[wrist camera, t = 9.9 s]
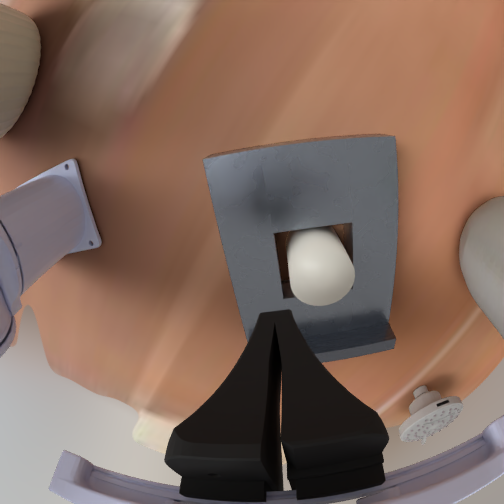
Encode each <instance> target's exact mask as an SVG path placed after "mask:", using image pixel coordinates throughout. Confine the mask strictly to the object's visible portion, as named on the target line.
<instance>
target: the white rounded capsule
mask: <svg viewBox="0 0 504 504" xmlns="http://www.w3.org/2000/svg"><path fill="white" fill-rule="evenodd" d="M286 251H287V260H288V269H289V277H290V286H291V289H292V292H293V293H294V295H295V296H296V297H297V298H298V299H299V300H300V301H302V302H304V303H306V304H309V305H313V306H325V305H329V304H332V303H335V302H337V301H339V300H340V299H342V298H343V297H344V296H345V295H346V294H347V293H348V292H349V291H350V289H351V288H352V286H353V283H354V279H355V270H354V266H353V264H352V262H351V260H350V258H349V256H348V254H347V252H346V250H345V248H344V246H343V245H342V243H341V241H340V239H339V237H338V235H337V233H336V231H335V230H334V228H333V227H332V226H331V225H328V226H321V227H314V228H306V229H299V230H292V231H289V233H288V235H287V238H286Z"/></svg>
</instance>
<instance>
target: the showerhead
mask: <svg viewBox="0 0 504 504" xmlns="http://www.w3.org/2000/svg"><path fill="white" fill-rule="evenodd" d="M413 394H414V397H415V400H414V401H413V402H412V403H411V404H410V406H409V411H410V414H411V416H410V417H409V418H408V419H407V420H405V421H404V422H403V424H402V425H401V426H400V428H399V434H400V438H401V440H402V441H415V440H417V441H418V440H419V439H422V441H421V444H422V445H423V444H425V441H426V437H427V436H430V435H431V436H432V435H433V434H434V433H436V432H438V431H441V429H443V428H444V427H447V426H448V424H449V423H451V422H453V420H454V419H455V418H457V417H458V415H459V414H460V412H461V411H462V409H463V404H462V402H461V400H460V398H459V397H457V396H450V397H446V398H443V399H442V398H441V396H440V394H439V392H438V391H428V389H427V387H426V386H421V387H419V388H417V389H416V390H415V391H414V392H413Z"/></svg>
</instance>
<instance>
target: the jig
mask: <svg viewBox="0 0 504 504" xmlns="http://www.w3.org/2000/svg"><path fill="white" fill-rule="evenodd" d="M203 163H204V168H205V172H206V177H207V181H208V186H209V190H210V194H211V199H212V203H213V207H214V211H215V216H216V220H217V224H218V228H219V232H220V237H221V241H222V245H223V249H224V253H225V257H226V261H227V265H228V269H229V273H230V277H231V281H232V285H233V289H234V293H235V296H236V300H237V304H238V308H239V312H240V315H241V319H242V323H243V327H244V330H245V334H246V338H247V341H249V339H250V337H251V335H252V333H253V330H254V328H255V325H256V322H257V319H258V316H259V314H260V313H262V312H270V311H278V310H286V309H290V310H291V311H292V314H293V317H294V320H295V322H296V324H297V326H298V328H299V330H300V332H301V334H302V336H303V337H304V339H305V341H306V342H307V344H308V346H309V347H310V349H311V350H312V351H313V353H314V354H315V356H316V357H317V358H318V360H319V361H320V362H321V363H323V362H329V361H335V360H341V359H347V358H352V357H358V356H363V355H367V354H372V353H377V352H381V351H386V350H390V349H394V346H395V341H396V337H395V335H394V333H393V331H392V329H391V327H390V325H389V323H388V322H389V316H390V310H391V302H392V295H393V286H394V277H395V266H396V254H397V236H398V169H397V152H396V140H395V136H391V135H385V134H365V135H348V136H335V137H324V138H314V139H305V140H296V141H289V142H281V143H274V144H268V145H261V146H255V147H249V148H243V149H238V150H233V151H227V152H222V153H217V154H212V155H210V156H208V157H206V158H205V159H203ZM343 223H344V246H345V250H346V252H347V254H348V256H349V258H350V260H351V262H352V264H353V266H354V270H355V279H354V283H353V286H352V288H351V289H350V291H349V292H348V293H347V294H346V295H345V296H344V297H343V298H342V299H340V300H339V301H337V302H335V303H332V304H329V305H325V306H313V305H309V304H306V303H304V302H302V301H300V300H299V299H298V298H297V297H296V296H295V295H294V293H293V292H292V289H291V286H290V280H283V281H282V278H281V271H280V264H279V257H278V251H277V245H276V238H275V233H278V232H285V231H292V230H299V229H306V228H314V227H321V226H328V225H336V224H343Z"/></svg>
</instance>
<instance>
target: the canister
mask: <svg viewBox="0 0 504 504" xmlns="http://www.w3.org/2000/svg"><path fill="white" fill-rule="evenodd" d="M40 41H41V37H40V35H39V30H38V28H37V26H36V24H35V22H34V21H33V20H32V19H31V18H30V17H29V16H27V15H26V14H24V13H22V12H20V11H18V10H15V9H13V8H11V7H8V6H6V5H3V4H1V3H0V138H2V137H3V136H4V135H5V134H6V133H7V132H8V131H9V130H10V129H11V128H12V127H13V125H14V123H16V121H17V120H18V119H19V116H20V114H21V113H22V112H23V110H24V107H25V105H26V104H27V103H28V99H29V96H30V95H31V93H32V88H33V86H34V84H35V79H36V76H37V74H38V67H39V65H40V63H39V61H40V57H41V53H40V50H41V44H40Z"/></svg>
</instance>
